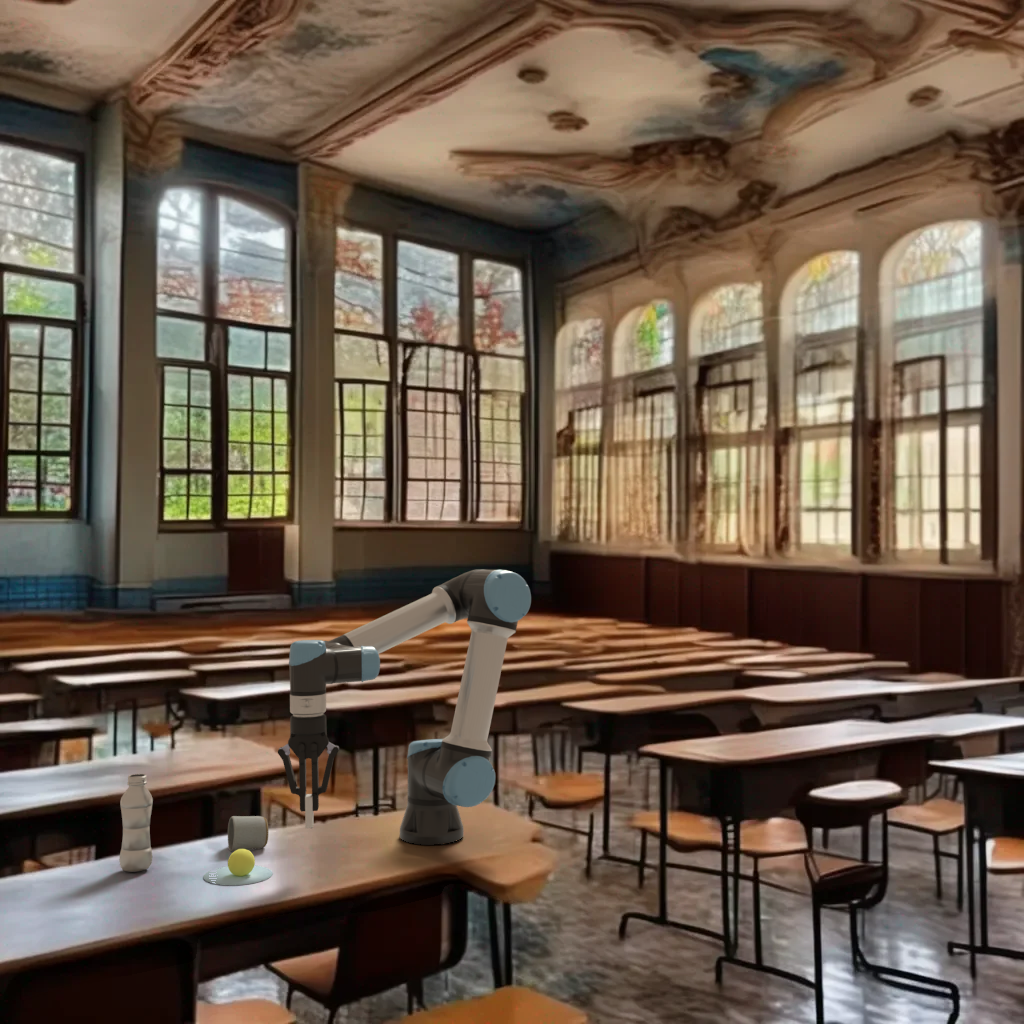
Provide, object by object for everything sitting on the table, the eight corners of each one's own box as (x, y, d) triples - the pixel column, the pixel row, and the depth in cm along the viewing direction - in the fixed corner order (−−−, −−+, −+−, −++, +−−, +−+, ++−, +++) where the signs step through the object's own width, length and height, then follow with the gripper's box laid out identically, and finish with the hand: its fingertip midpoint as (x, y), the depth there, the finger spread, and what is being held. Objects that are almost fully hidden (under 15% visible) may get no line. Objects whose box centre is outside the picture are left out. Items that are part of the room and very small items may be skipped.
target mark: (276, 865, 239) (276, 864, 239) (268, 884, 225) (268, 883, 225) (209, 866, 238) (209, 865, 238) (197, 886, 224) (197, 885, 224)
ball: (248, 876, 234) (261, 853, 235) (244, 884, 229) (257, 860, 229) (225, 864, 234) (238, 841, 234) (220, 871, 228) (234, 847, 229)
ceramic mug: (269, 851, 250) (270, 816, 251) (233, 855, 247) (233, 820, 247) (259, 841, 260) (259, 807, 260) (223, 844, 256) (224, 811, 257)
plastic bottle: (158, 870, 235) (159, 775, 235) (128, 877, 230) (130, 780, 230) (142, 864, 239) (144, 771, 240) (113, 871, 234) (115, 775, 235)
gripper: (274, 717, 230) (276, 832, 229) (338, 716, 231) (339, 829, 230) (278, 712, 237) (280, 823, 237) (340, 710, 238) (341, 820, 238)
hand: (309, 826), depth 234 cm, fingers closed
